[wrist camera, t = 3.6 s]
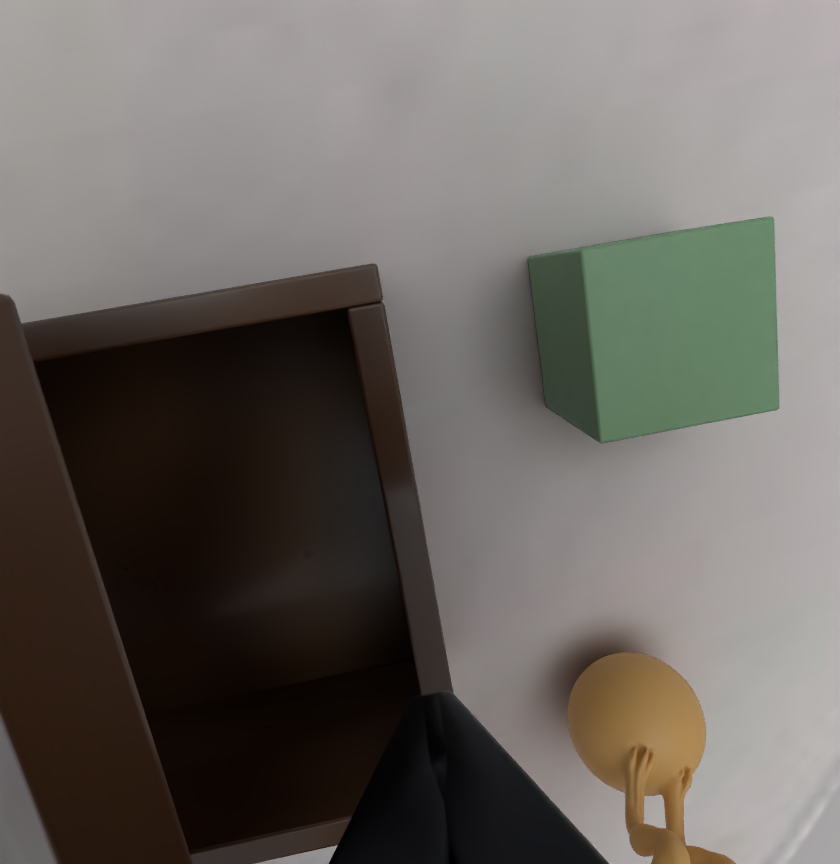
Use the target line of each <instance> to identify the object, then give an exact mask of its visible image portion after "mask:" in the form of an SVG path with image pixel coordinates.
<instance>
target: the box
mask: <svg viewBox="0 0 840 864" xmlns="http://www.w3.org/2000/svg"><path fill="white" fill-rule="evenodd" d="M382 300H383V295H382V289H381V283H380V278H379V272H378V267H377V265H376V264H367V265H361V266H355V267H349V268H343V269H338V270H332V271H326V272H320V273H314V274H308V275H303V276H297V277H291V278H285V279H279V280H273V281H267V282H262V283H256V284H250V285H244V286H238V287H232V288H227V289H221V290H215V291H209V292H203V293H197V294H191V295H186V296H180V297H174V298H168V299H162V300H156V301H151V302H145V303H139V304H133V305H127V306H121V307H115V308H110V309H104V310H98V311H92V312H86V313H80V314H75V315H69V316H63V317H57V318H51V319H45V320H39V321H34V322H28V323H22V328H23V331H24V334H25V337H26V340H27V343H28V346H29V350H30V353H31V356H32V359H33V362H34V365H35V369H36V372H37V375H38V378H39V381H40V384H41V387H42V391H43V394H44V397H45V400H46V403H47V406H48V409H49V413H50V416H51V419H52V422H53V425H54V428H55V431H56V435H57V438H58V441H59V444H60V447H61V450H62V453H63V457H64V460H65V463H66V466H67V469H68V472H69V476H70V479H71V482H72V485H73V488H74V491H75V494H76V498H77V501H78V504H79V507H80V510H81V513H82V516H83V520H84V523H85V526H86V529H87V532H88V535H89V538H90V542H91V545H92V548H93V551H94V554H95V557H96V561H97V564H98V567H99V570H100V573H101V576H102V579H103V583H104V586H105V589H106V592H107V595H108V598H109V601H110V605H111V608H112V611H113V614H114V617H115V620H116V623H117V627H118V630H119V633H120V636H121V639H122V642H123V646H124V649H125V652H126V655H127V658H128V661H129V664H130V668H131V671H132V674H133V677H134V680H135V683H136V686H137V690H138V693H139V696H140V699H141V702H142V705H143V708H144V712H145V715H146V718H147V721H148V724H149V727H150V731H151V734H152V737H153V740H154V743H155V746H156V749H157V753H158V756H159V759H160V762H161V765H162V768H163V771H164V775H165V778H166V781H167V784H168V787H169V790H170V793H171V797H172V800H173V803H174V806H175V809H176V812H177V816H178V819H179V822H180V825H181V828H182V831H183V834H184V838H185V841H186V844H187V847H188V850H189V853H190V856H191V860H192V863H193V864H254V863H258V862H263V861H267V860H272V859H276V858H281V857H285V856H290V855H294V854H299V853H303V852H308V851H312V850H317V849H321V848H326V847H330V846H335V845H338V844H339V842H340V840H341V838H342V836H343V834H344V832H345V830H346V828H347V826H348V824H349V822H350V819H351V817H352V815H353V813H354V811H355V809H356V807H357V805H358V803H359V801H360V799H361V797H362V795H363V793H364V791H365V789H366V787H367V785H368V783H369V781H370V779H371V777H372V775H373V772H374V770H375V768H376V766H377V764H378V762H379V760H380V758H381V756H382V754H383V752H384V750H385V748H386V746H387V744H388V742H389V740H390V738H391V736H392V734H393V732H394V730H395V728H396V725H397V723H398V721H399V719H400V717H401V715H402V713H403V711H404V709H405V707H406V705H407V703H408V701H409V699H411V698H412V697H414V696H419V695H424V694H430V693H435V692H441V691H450V692H452V693H453V689H452V683H451V678H450V672H449V667H448V661H447V655H446V650H445V644H444V638H443V633H442V627H441V621H440V616H439V610H438V605H437V599H436V593H435V588H434V582H433V576H432V571H431V565H430V559H429V554H428V548H427V543H426V537H425V531H424V526H423V520H422V514H421V509H420V503H419V498H418V492H417V486H416V481H415V475H414V469H413V464H412V458H411V452H410V447H409V441H408V436H407V430H406V424H405V419H404V413H403V407H402V402H401V396H400V391H399V385H398V379H397V374H396V368H395V362H394V357H393V351H392V345H391V340H390V334H389V329H388V323H387V317H386V312H385V306H384V304H383V303H382V302H381V301H382Z"/></svg>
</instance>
